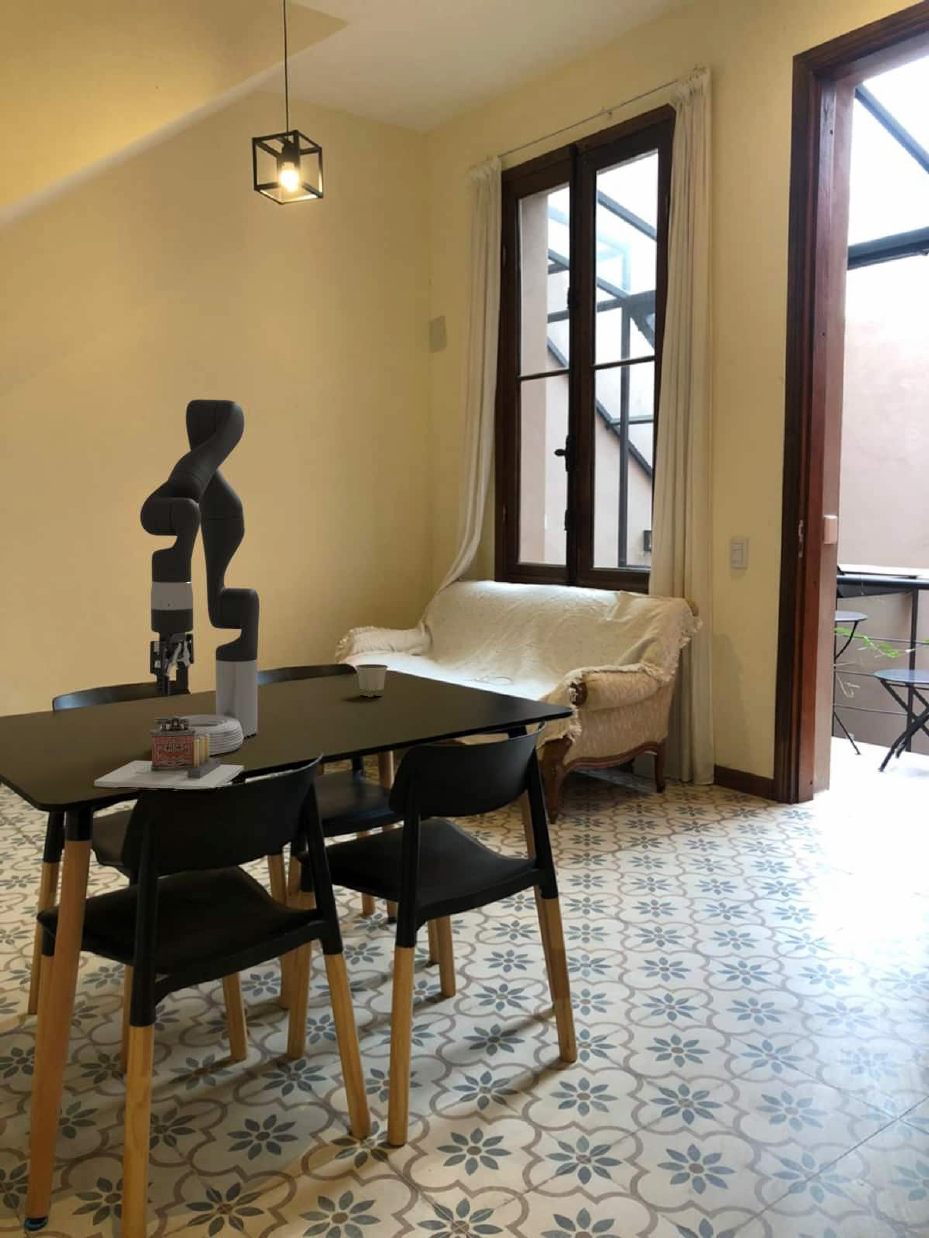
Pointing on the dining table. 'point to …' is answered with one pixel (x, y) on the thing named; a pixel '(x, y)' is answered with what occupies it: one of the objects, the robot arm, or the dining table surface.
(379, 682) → the flower pot
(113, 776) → the board
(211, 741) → the cable
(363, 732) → the dining table surface
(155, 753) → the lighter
